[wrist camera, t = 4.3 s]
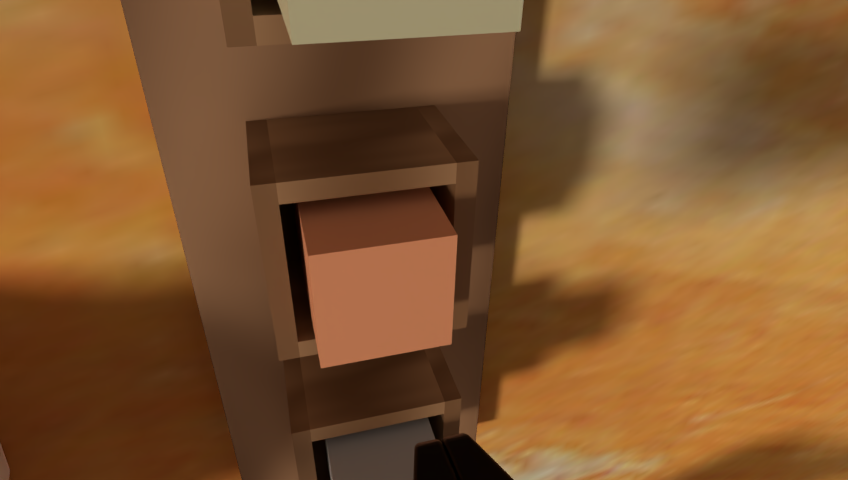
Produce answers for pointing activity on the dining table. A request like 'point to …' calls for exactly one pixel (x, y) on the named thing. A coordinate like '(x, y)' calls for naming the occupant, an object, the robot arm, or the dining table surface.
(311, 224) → the orange rectangular block
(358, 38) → the beige rectangular block
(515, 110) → the dining table surface
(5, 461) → the honey pot
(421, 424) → the grey chamfered block
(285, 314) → the brown block rack
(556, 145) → the dining table surface
